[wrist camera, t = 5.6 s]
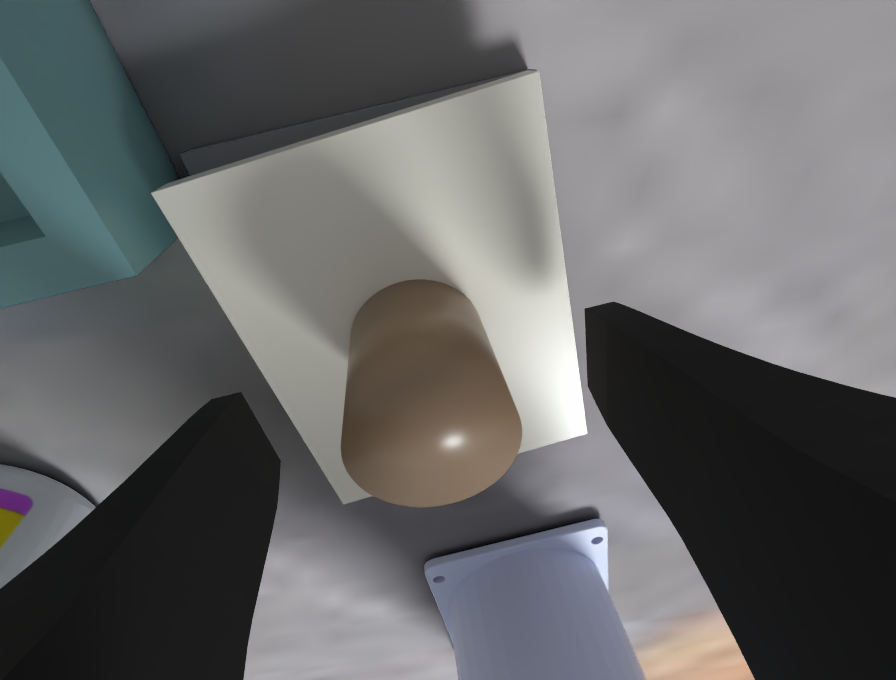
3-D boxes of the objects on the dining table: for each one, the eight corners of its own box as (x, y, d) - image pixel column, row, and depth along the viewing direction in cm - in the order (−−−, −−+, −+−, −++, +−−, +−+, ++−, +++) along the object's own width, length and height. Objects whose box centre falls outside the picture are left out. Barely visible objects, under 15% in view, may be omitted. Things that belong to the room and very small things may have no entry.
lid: (565, 395, 15) (648, 542, 11) (346, 460, 15) (334, 630, 11) (514, 69, 10) (631, 78, 5) (184, 173, 10) (27, 266, 6)
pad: (557, 397, 16) (563, 408, 15) (333, 451, 16) (332, 464, 15) (528, 69, 10) (536, 69, 10) (188, 149, 10) (179, 154, 10)
